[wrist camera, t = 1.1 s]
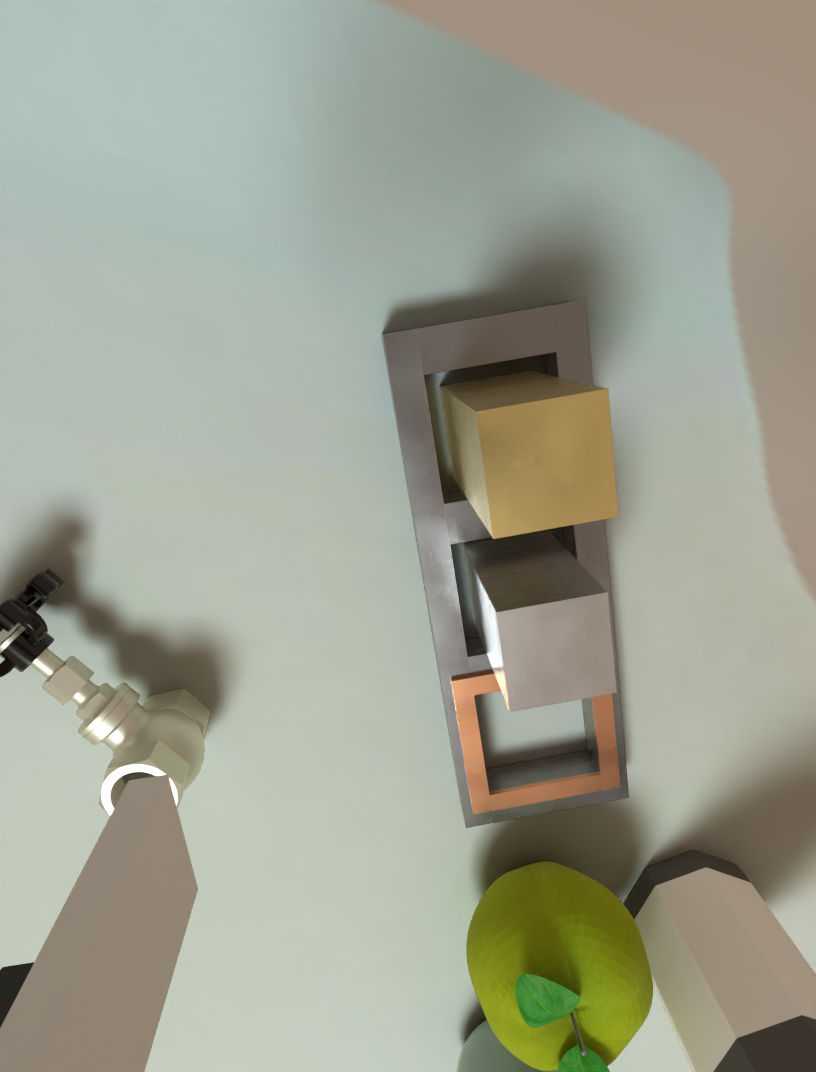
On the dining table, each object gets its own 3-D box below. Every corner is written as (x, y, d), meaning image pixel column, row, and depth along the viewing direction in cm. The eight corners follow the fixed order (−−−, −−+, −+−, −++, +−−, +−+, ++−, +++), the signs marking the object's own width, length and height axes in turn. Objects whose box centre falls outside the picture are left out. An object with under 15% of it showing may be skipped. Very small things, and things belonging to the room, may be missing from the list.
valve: (248, 704, 38) (69, 549, 35) (226, 779, 31) (5, 597, 28) (164, 780, 39) (-18, 635, 36) (125, 868, 32) (-99, 701, 29)
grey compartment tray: (381, 334, 33) (383, 334, 31) (572, 301, 33) (587, 299, 31) (461, 804, 40) (466, 831, 38) (616, 775, 40) (631, 801, 38)
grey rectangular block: (462, 544, 36) (496, 612, 27) (547, 529, 36) (607, 592, 27) (474, 623, 37) (509, 712, 28) (556, 608, 37) (616, 692, 29)
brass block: (439, 386, 34) (476, 411, 23) (530, 370, 34) (608, 388, 23) (452, 476, 35) (493, 539, 24) (540, 460, 35) (618, 516, 24)
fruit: (484, 971, 44) (519, 1151, 34) (438, 854, 41) (462, 1013, 31) (626, 926, 43) (701, 1094, 34) (589, 805, 41) (660, 950, 31)
